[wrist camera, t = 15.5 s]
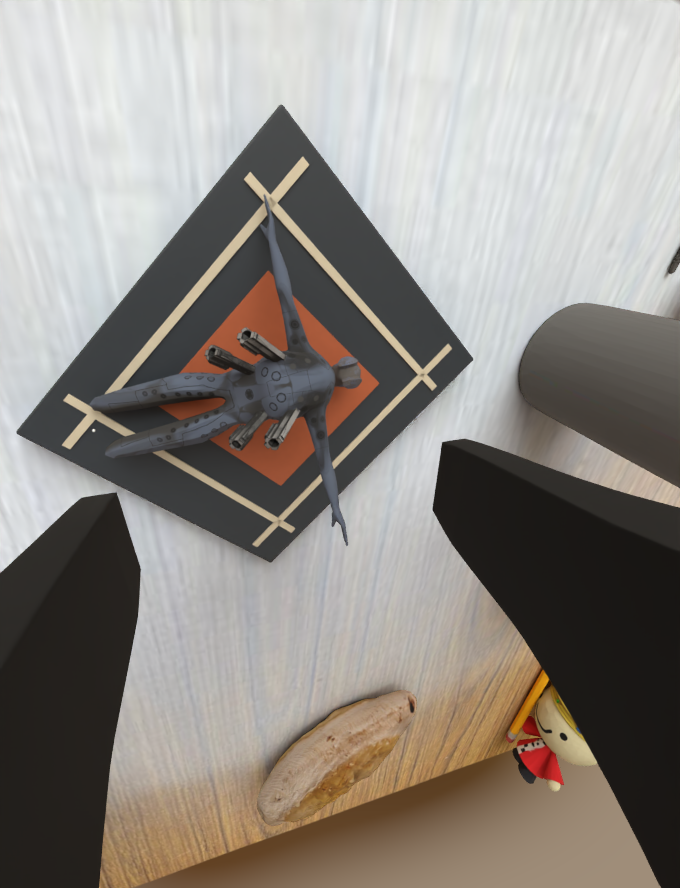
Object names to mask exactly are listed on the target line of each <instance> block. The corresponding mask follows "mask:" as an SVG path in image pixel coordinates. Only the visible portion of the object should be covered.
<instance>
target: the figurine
mask: <svg viewBox="0 0 680 888" xmlns="http://www.w3.org/2000/svg"><path fill="white" fill-rule="evenodd" d="M263 196H264V199H265V200H264V203H265V207H266V211H267V215H268V219H269V223H268V226H267V229H266V228H265V227H264V226H263V225H262V224H260V228H261V229H262V231H263V233H264V235H265V237H266V239H267V240H268V241H269V247H270V253H271V260H272V267H273V275H274V280H275V286H276V290H277V293H278V297H279V301H280V305H281V310H282V315H283V320H284V326H285V332H286V339H287V346H288V350H286V351H280V350H279V349H277V348H276V347H275V346H273V345H272V344H271V343H269V342H268V341H267V340H266V339H264V338H263V337H262V336H260V335H259V334H258V333H256V332H252V331H251V330H250V329H248V328H247V327H245V328H243V329H242V330H241V332H242V333H238V334H237V340H239V342H240V345H241V346H242V347H243V348H245V349H246V350H248V351H249V352H251V353H252V354H254V355H255V356H257V354H260V355H262V356H263V358H262V359H260V360H259V361H258V362H257V363H255V364H250V363H248V362H246V361H244V360H241V359H239V358H237V357H235V356H233V355H232V354H231V353H230V352H228V351H226V350H224V349H222V348H220V347H218V346H216V345H210V346H209V347H208V348H209V350H206V351H205V355H204V356H206V359H207V360H208V362H209V363H210V364H212V365H214V366H217V367H219V368H221V369H224V370H227V369H229V368H233V370H231V371H229V372H226V373H223V374H215V373H204V372H200V373H180V374H176V375H172V376H168V377H165V378H161V379H157V380H153V381H150V382H146V383H142V384H138V385H135V386H131V387H127V388H124V389H120V390H117V391H114V392H111V393H107V394H104V395H101V396H98V397H95V398H94V399H93V400H92V401H91V403H90V404H89V405H90V406H91V407H92V409H93V410H94V411H99V412H103V413H116V412H123V411H129V410H136V409H142V408H148V407H155V406H161V405H167V404H174V403H181V402H189V401H196V400H204V399H212V398H223V399H224V400H226V401H225V403H224V404H223V405H221V406H220V407H218V408H216V409H213V410H210V411H207V412H204V413H201V414H198V415H195V416H192V417H189V418H186V419H183V420H180V421H176V422H173V423H170V424H166V425H163V426H160V427H156V428H153V429H149V430H146V431H143V432H139V433H136V434H132V435H129V436H125V437H122V438H120V439H117V440H115V441H114V442H113V443H111V444H110V445H109V446H108V447H107V448H106V451H105V455H107V456H109V457H111V458H120V457H127V456H134V455H140V454H146V453H151V452H156V451H162V450H167V449H172V448H177V447H183V446H188V445H193V444H198V443H203V442H205V441H207V440H209V439H211V438H213V437H216V436H218V435H220V434H221V433H223V432H224V431H226V430H228V429H229V428H231V427H232V426H234V425H237V424H240V425H239V426H238V427H237V429H236V430H235V431H234V432H233V433H232V434H231V435H230V436H229V443H230V444H229V446H230V447H231V448H232V449H236V450H237V451H242V450H243V449H244V448H245V446H246V445H247V444H248V443H249V442H250V440H251V439H252V438H253V434H254V433H255V432H256V430H257V429H258V428H259V427H260V426H261V425H262V423H263V422H264V421H267V420H268V419H272V420H278V421H279V422H278V423H275V424H274V423H272V425H271V426H270V428H269V430H268V431H267V433H266V434H265V436H264V439H265V441H264V442H265V443H264V445H265V446H266V448H267V449H269V448H271V450H278V448H279V446H280V445H281V443H283V441H284V439H285V438H286V436H287V434H288V432H289V431H290V429H291V427H292V425H293V423H294V422H295V420H296V419H298V418H300V417H304V418H305V421H306V424H307V426H308V429H309V432H310V435H311V439H312V442H313V445H314V449H315V452H316V456H317V460H318V464H319V469H320V474H321V477H322V480H323V484H324V486H325V489H326V492H327V495H328V498H329V500H330V503H331V507H332V510H333V513H332V527H333V526H334V525H335V522H336V521H337V522H338V523H339V524H340V525H341V528H342V532H343V537H344V541H345V542H346V546H348V542H347V534H346V526H345V522H344V519H343V517H342V514H341V511H340V509H339V500H338V488H337V481H336V476H335V471H334V468H333V465H332V462H331V458H330V453H329V443H328V434H327V425H326V409H327V405H328V403H329V402H330V400H331V397H332V394H333V391H334V387H345V388H347V389H354V388H356V387H358V386H359V385H360V383H361V382H362V379H361V377H360V375H361V369H360V368H359V366H358V365H357V363H358V360H357V359H356V358H354V357H349V356H347V357H343V358H341V359H340V360H339V362H338V363H337V364H335V365H333V366H332V367H331V366H330V364H329V363H328V362H327V361H326V360H325V359H324V358H323V357H322V356H321V355H320V354H319V353H318V352H316V351H315V350H314V349H313V348H312V347H311V345H310V344H309V342H308V339H307V337H306V334H305V331H304V328H303V325H302V323H301V320H300V317H299V314H298V312H297V309H296V306H295V303H294V300H293V296H292V290H291V283H290V279H289V275H288V271H287V268H286V265H285V262H284V260H283V257H282V254H281V252H280V250H279V247H278V244H277V241H276V234H275V225H274V219H273V216H272V214H271V210H270V207H269V203H268V201H267V198H266V195H265V194H264V195H263ZM241 424H246V425H241ZM95 431H96V430H95V429H93V430H92V432H95Z"/></svg>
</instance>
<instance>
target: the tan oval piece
mask: <svg viewBox="0 0 680 888" xmlns="http://www.w3.org/2000/svg"><path fill="white" fill-rule="evenodd" d="M416 709H417V700H416V697H415V696H414V695H413V694H412V693H411V692H409V691H406V690H399V691H395V692H392V693H389V694H385V695H382V696H380V697H378V698H370V699H363V700H361V701H358V702H356V703H354V704H351V705H349V706H347V707H346V706H345V707H343V708H340V709H337V710H335V711H334V712H332V713H331V714H330V715H329V716H328V717H327V719H326V720H325V721H323V722H321V723H319V724H318V725H317V726H316V727H315V728H314V729H312V730H311V731H309V732H308V733H306V734H305V735H303V736H302V737H301V738H300V739H299V740H298V741H297V742H295V743H293V744H292V745H291V746H290V748H289V749H288V750H287V751H286V752H285V753H284V754H283V755H282V756H281V758H280V759H279V760H278V762H277V763H276V765H275V767H274V769H273V770H272V772H271V773H270V775H269V776H268V778H267V780H266V781H265V783H264V784H263V786H262V787H261V789H260V791H259V794H258V798H257V809H258V811H259V813H260V815H261V817H262V819H263V820H264V821H265V822H266V823H267V824H268V825H271V826H275V825H280V824H282V823H284V822H288V821H289V822H296V821H298V820H301V819H307V818H309V817H311V816H312V815H314V814H315V813H316V812H317V811H319V810H320V809H321V808H323V807H324V806H325V805H327V804H329V803H332V802H334V801H335V800H336V799H337V798H338V797H339V796H340V795H342V794H345V793H347V792H348V791H349V790H350V789H351V787H352V786H353V785H354V784H355V783H357V782H359V781H360V780H362V779H364V778H367V777H369V776H370V775H371V774H372V772H373V771H374V770H376V769H377V768H378V767H379V765H380V763H381V762H382V761H383V760H384V759H385V758H386V756H387V755H388V754H389V753H390V752H391V751H392V749H393V747H394V746H395V744H396V742H397V740H398V739H399V738H400V736H401V735H402V733H403V732H404V731H405V730H406V728H407V727H408V725H409V724H410V722H411V720H412V718H413V717H414V715H415V713H416Z"/></svg>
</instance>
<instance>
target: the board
mask: <svg viewBox="0 0 680 888" xmlns="http://www.w3.org/2000/svg"><path fill="white" fill-rule="evenodd" d="M264 194H265V195H266V198H267V201H268V203H269V207H270V210H271V214H272V216H273V219H274V225H275V234H276V241H277V244H278V247H279V250H280V252H281V254H282V257H283V260H284V262H285V265H286V268H287V271H288V275H289V279H290V283H291V290H292V296H293V300H294V303H295V306H296V309H297V312H298V314H299V317H300V320H301V323H302V325H303V328H304V331H305V334H306V337H307V339H308V342H309V344H310V345H311V347H312V348H313V349H314V350H315V351H316V352H318V353H319V354H320V355H321V356H322V357H323V358H324V359H325V360H326V361H327V362H328V363H329V364H330V366H331V367H332V366H333V365H335V364H337V363H338V362H339V360H340V359H341V358H343V357H347V356H349V357H354V358H356V359H357V360H358V363H357V365H358V366H359V368H360V369H361V375H360V377H361V379H362V382H361V383H360V385H359V386H358V387H356V388H354V389H347V388H345V387H334V391H333V394H332V397H331V400H330V402H329V403H328V405H327V409H326V425H327V434H328V443H329V453H330V458H331V462H332V465H333V468H334V471H335V476H336V481H337V488H338V495H339V494H340V493H341V492H342V491H343V490H344V489H345V488H346V487H347V486H348V485H349V484H350V483H351V482H352V481H353V480H354V479H355V478H356V477H357V476H358V475H359V474H360V473H361V472H362V471H363V470H364V469H365V468H366V467H367V466H368V465H369V464H370V463H371V462H372V461H373V460H374V459H375V458H376V457H377V456H378V455H379V454H380V453H381V452H382V451H383V450H384V449H385V448H386V447H387V446H388V445H389V444H390V443H391V442H392V441H393V440H394V439H395V438H396V437H397V436H398V435H399V434H400V433H401V432H402V431H403V430H404V429H405V428H406V427H407V426H408V425H409V424H410V423H411V422H412V421H413V420H414V419H415V418H416V417H417V416H418V415H419V414H420V413H421V412H422V411H423V410H424V409H425V408H426V407H427V406H428V405H429V404H430V403H431V402H432V401H433V400H434V399H435V398H436V397H437V396H438V395H439V394H440V393H441V392H442V391H443V390H444V389H445V387H446V386H447V385H448V384H449V383H450V382H451V381H452V380H453V379H454V378H455V377H456V376H457V375H458V374H459V373H460V372H461V371H462V370H463V369H464V368H465V367H466V366H467V365H468V364H469V363H470V362H471V361H472V360H473V358H472V356H471V355H470V354H469V352H468V351H467V350H466V348H465V347H464V346H463V344H462V343H461V342H460V340H459V339H458V338H457V336H456V335H455V334H454V333H453V331H452V330H451V329H450V327H449V326H448V325H447V323H446V322H445V321H444V319H443V318H442V317H441V315H440V314H439V313H438V311H437V310H436V309H435V307H434V306H433V305H432V303H431V302H430V301H429V299H428V298H427V297H426V295H425V294H424V293H423V291H422V290H421V289H420V287H419V286H418V285H417V283H416V282H415V281H414V279H413V278H412V277H411V275H410V274H409V273H408V271H407V270H406V269H405V267H404V266H403V265H402V263H401V262H400V261H399V259H398V258H397V257H396V255H395V254H394V253H393V251H392V250H391V249H390V247H389V246H388V245H387V243H386V242H385V241H384V239H383V238H382V237H381V235H380V234H379V233H378V231H377V230H376V229H375V227H374V226H373V225H372V223H371V222H370V221H369V219H368V218H367V217H366V215H365V214H364V213H363V211H362V210H361V209H360V207H359V206H358V205H357V203H356V202H355V201H354V199H353V198H352V197H351V195H350V194H349V193H348V191H347V190H346V189H345V187H344V186H343V185H342V183H341V182H340V181H339V179H338V178H337V177H336V175H335V174H334V173H333V171H332V170H331V169H330V167H329V166H328V165H327V163H326V162H325V161H324V159H323V158H322V157H321V155H320V154H319V153H318V151H317V150H316V149H315V147H314V146H313V145H312V143H311V142H310V141H309V139H308V138H307V137H306V135H305V134H304V133H303V131H302V130H301V129H300V127H299V126H298V125H297V123H296V122H295V121H294V119H293V118H292V117H291V115H290V114H289V113H288V111H287V110H286V109H285V107H284V106H283V105H279V107H278V108H277V109H276V110H275V112H274V113H273V114H272V115H271V117H270V118H269V119H268V120H267V121H266V123H265V124H264V125H263V126H262V128H261V129H260V130H259V131H258V133H257V134H256V135H255V136H254V138H253V139H252V140H251V141H250V143H249V144H248V145H247V146H246V148H245V149H244V150H243V151H242V152H241V154H240V155H239V156H238V157H237V159H236V160H235V161H234V162H233V164H232V165H231V166H230V167H229V169H228V170H227V171H226V172H225V174H224V175H223V176H222V177H221V179H220V180H219V181H218V182H217V183H216V185H215V186H214V187H213V188H212V190H211V191H210V192H209V193H208V195H207V196H206V197H205V198H204V200H203V201H202V202H201V203H200V205H199V206H198V207H197V208H196V209H195V211H194V212H193V213H192V214H191V216H190V217H189V218H188V219H187V221H186V222H185V223H184V224H183V226H182V227H181V228H180V229H179V231H178V232H177V233H176V234H175V236H174V237H173V238H172V239H171V240H170V242H169V243H168V244H167V245H166V247H165V248H164V249H163V250H162V252H161V253H160V254H159V255H158V257H157V258H156V259H155V260H154V262H153V263H152V264H151V265H150V267H149V268H148V269H147V270H146V271H145V273H144V274H143V275H142V276H141V278H140V279H139V280H138V281H137V283H136V284H135V285H134V286H133V288H132V289H131V290H130V291H129V293H128V294H127V295H126V296H125V298H124V299H123V300H122V301H121V302H120V304H119V305H118V306H117V307H116V309H115V310H114V311H113V312H112V314H111V315H110V316H109V317H108V319H107V320H106V321H105V322H104V324H103V325H102V326H101V327H100V328H99V330H98V331H97V332H96V333H95V335H94V336H93V337H92V338H91V340H90V341H89V342H88V343H87V345H86V346H85V347H84V348H83V350H82V351H81V352H80V353H79V355H78V356H77V357H76V358H75V359H74V361H73V362H72V363H71V364H70V366H69V367H68V368H67V369H66V371H65V372H64V373H63V374H62V376H61V377H60V378H59V379H58V381H57V382H56V383H55V384H54V386H53V387H52V388H51V389H50V390H49V392H48V393H47V394H46V395H45V397H44V398H43V399H42V400H41V402H40V403H39V404H38V405H37V407H36V408H35V409H34V410H33V412H32V413H31V414H30V415H29V417H28V418H27V419H26V420H25V421H24V423H23V424H22V425H21V426H20V428H19V429H18V430H17V434H18V435H20V436H22V437H24V438H26V439H28V440H30V441H32V442H34V443H36V444H38V445H40V446H42V447H44V448H46V449H48V450H50V451H52V452H54V453H56V454H58V455H60V456H62V457H64V458H66V459H67V460H69V461H71V462H73V463H75V464H77V465H79V466H81V467H83V468H85V469H87V470H89V471H91V472H93V473H95V474H97V475H99V476H101V477H103V478H105V479H107V480H109V481H111V482H113V483H115V484H117V485H119V486H121V487H123V488H125V489H127V490H129V491H131V492H133V493H135V494H137V495H138V496H140V497H142V498H144V499H146V500H148V501H150V502H152V503H154V504H156V505H158V506H160V507H162V508H164V509H166V510H168V511H170V512H172V513H174V514H176V515H178V516H180V517H182V518H184V519H186V520H188V521H190V522H192V523H194V524H196V525H198V526H200V527H202V528H204V529H206V530H208V531H209V532H211V533H213V534H215V535H217V536H219V537H221V538H223V539H225V540H227V541H229V542H231V543H233V544H235V545H237V546H239V547H241V548H243V549H245V550H247V551H249V552H251V553H253V554H255V555H257V556H259V557H261V558H263V559H265V560H267V561H269V562H272V561H273V560H274V559H275V558H276V557H277V556H278V555H279V554H280V553H281V552H282V551H283V550H284V549H285V548H286V547H287V546H288V545H289V544H290V543H291V542H292V541H293V540H294V539H295V538H296V537H297V536H298V535H299V534H300V533H301V532H302V531H303V530H304V529H305V528H306V527H307V526H308V525H309V524H310V523H311V522H312V521H313V520H314V519H315V518H316V517H317V516H318V515H319V514H320V513H321V512H322V511H323V510H324V509H325V508H326V507H327V506H328V505H329V504H330V500H329V498H328V495H327V492H326V489H325V486H324V484H323V480H322V477H321V474H320V469H319V464H318V460H317V456H316V452H315V449H314V445H313V442H312V439H311V435H310V432H309V429H308V426H307V424H306V421H305V418H304V417H300V418H298V419H296V420H295V422H294V423H293V425H292V427H291V429H290V431H289V432H288V434H287V436H286V438H285V439H284V441H283V443H281V445H280V446H279V448H278V450H271V448H269V449H267V448H266V446H265V445H264V443H265V442H264V441H265V439H264V436H265V434H266V433H267V431H268V430H269V428H270V426H271V425H272V423H274V424H275V423H278V422H279V421H278V420H272V419H268V420H267V421H264V422H263V423H262V425H261V426H260V427H259V428H258V429H257V430H256V432H255V433H254V434H253V438H252V439H251V440H250V442H249V443H248V444H247V445H246V446H245V448H244V449H243V450H242V451H237V450H236V449H232V448H231V447H230V446H229V444H230V443H229V436H230V435H231V434H232V433H233V432H234V431H235V430H236V429H237V427H238V426H239V425H240V424H237V425H234V426H232V427H231V428H229V429H228V430H226V431H224V432H223V433H221V434H220V435H218V436H216V437H213V438H211V439H209V440H207V441H205V442H203V443H198V444H193V445H188V446H183V447H177V448H172V449H167V450H162V451H156V452H151V453H146V454H140V455H134V456H127V457H120V458H111V457H109V456H107V455H105V451H106V448H107V447H108V446H109V445H110V444H111V443H113V442H114V441H115V440H117V439H120V438H122V437H125V436H129V435H132V434H136V433H139V432H143V431H146V430H149V429H153V428H156V427H160V426H163V425H166V424H170V423H173V422H176V421H180V420H183V419H186V418H189V417H192V416H195V415H198V414H201V413H204V412H207V411H210V410H213V409H216V408H218V407H220V406H221V405H223V404H224V403H225V401H226V400H224V399H223V398H212V399H204V400H196V401H189V402H181V403H174V404H167V405H161V406H155V407H148V408H142V409H136V410H129V411H123V412H116V413H103V412H99V411H94V410H93V409H92V407H91V406H90V405H89V404H90V403H91V401H92V400H93V399H94V398H95V397H98V396H101V395H104V394H107V393H111V392H114V391H117V390H120V389H124V388H127V387H131V386H135V385H138V384H142V383H146V382H150V381H153V380H157V379H161V378H165V377H168V376H172V375H176V374H180V373H200V372H204V373H215V374H223V373H226V372H229V371H231V370H233V368H229V369H227V370H224V369H221V368H219V367H217V366H214V365H212V364H210V363H209V362H208V360H207V359H206V356H204V355H205V351H206V350H209V348H208V347H209V346H210V345H216V346H218V347H220V348H222V349H224V350H226V351H228V352H230V353H231V354H232V355H233V356H235V357H237V358H239V359H241V360H244V361H246V362H248V363H250V364H255V363H257V362H258V361H259V360H260V359H262V358H263V356H262V355H260V354H257V356H255V355H254V354H252V353H251V352H249V351H248V350H246V349H245V348H243V347H242V346H241V345H240V342H239V340H237V334H238V333H242V332H241V330H242V329H243V328H245V327H247V328H248V329H250V330H251V331H252V332H256V333H258V334H259V335H260V336H262V337H263V338H264V339H266V340H267V341H268V342H269V343H271V344H272V345H273V346H275V347H276V348H277V349H279V350H280V351H286V350H288V346H287V339H286V332H285V326H284V320H283V315H282V310H281V305H280V301H279V297H278V293H277V290H276V286H275V280H274V275H273V267H272V260H271V253H270V247H269V241H268V240H267V239H266V237H265V235H264V233H263V231H262V229H261V228H260V224H262V225H263V226H264V227H265V228H266V229H267V226H268V223H269V219H268V215H267V211H266V207H265V203H264V200H265V199H264V196H263V195H264ZM241 425H246V424H241ZM93 429H95V430H96V431H95V432H92V430H93Z"/></svg>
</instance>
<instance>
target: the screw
mask: <svg viewBox="0 0 680 888" xmlns="http://www.w3.org/2000/svg"><path fill="white" fill-rule="evenodd" d="M679 250H680V249H679ZM679 263H680V251H679V252H678V254H677V256H676V258H675V259H674V262H673V263H672V265H671V267H670V269H669V273H670V274H671V273H674V272H675V270H676V268H677V267H678V265H679Z"/></svg>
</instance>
